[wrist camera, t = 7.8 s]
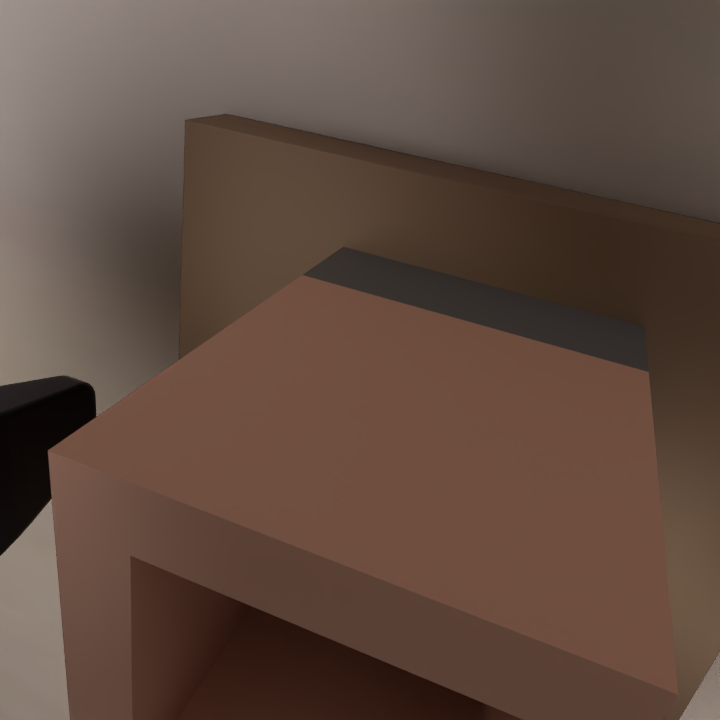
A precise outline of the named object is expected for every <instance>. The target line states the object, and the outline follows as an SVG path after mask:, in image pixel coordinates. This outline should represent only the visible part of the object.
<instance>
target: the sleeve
mask: <svg viewBox="0 0 720 720" xmlns="http://www.w3.org/2000/svg"><path fill="white" fill-rule="evenodd" d="M48 459H49V471H50V483H51V495H52V507H53V520H54V532H55V544H56V556H57V568H58V580H59V592H60V604H61V616H62V628H63V641H64V653H65V665H66V677H67V689H68V701H69V713H70V720H664V718H665V717H666V715H667V713H668V712H669V710H670V708H671V706H672V705H673V703H674V701H675V700H676V698H677V696H678V685H677V674H676V663H675V652H674V641H673V631H672V620H671V609H670V598H669V587H668V576H667V565H666V554H665V543H664V533H663V522H662V511H661V500H660V489H659V478H658V467H657V456H656V446H655V435H654V424H653V413H652V402H651V391H650V380H649V369H648V359H647V348H646V337H645V326H641V325H637V324H633V323H629V322H626V321H622V320H618V319H614V318H611V317H607V316H603V315H599V314H595V313H592V312H588V311H584V310H580V309H577V308H573V307H569V306H565V305H561V304H558V303H554V302H550V301H546V300H543V299H539V298H535V297H531V296H527V295H524V294H520V293H516V292H512V291H509V290H505V289H501V288H497V287H493V286H490V285H486V284H482V283H478V282H475V281H471V280H467V279H463V278H459V277H456V276H452V275H448V274H444V273H441V272H437V271H433V270H429V269H425V268H422V267H418V266H414V265H410V264H407V263H403V262H399V261H395V260H392V259H388V258H384V257H380V256H376V255H373V254H369V253H365V252H361V251H358V250H354V249H350V248H346V247H342V248H341V249H339V250H338V251H336V252H335V253H333V254H332V255H330V256H329V257H328V258H326V259H325V260H323V261H322V262H320V263H319V264H317V265H316V266H314V267H313V268H312V269H310V270H309V271H307V272H306V273H304V274H303V275H301V276H300V277H299V278H297V279H296V280H294V281H293V282H291V283H290V284H288V285H287V286H286V287H284V288H283V289H281V290H280V291H278V292H277V293H275V294H274V295H272V296H271V297H270V298H268V299H267V300H265V301H264V302H262V303H261V304H259V305H258V306H257V307H255V308H254V309H252V310H251V311H249V312H248V313H246V314H245V315H243V316H242V317H241V318H239V319H238V320H236V321H235V322H233V323H232V324H230V325H229V326H228V327H226V328H225V329H223V330H222V331H220V332H219V333H217V334H216V335H215V336H213V337H212V338H210V339H209V340H207V341H206V342H204V343H203V344H201V345H200V346H199V347H197V348H196V349H194V350H193V351H191V352H190V353H188V354H187V355H186V356H184V357H183V358H181V359H180V360H178V361H177V362H175V363H174V364H173V365H171V366H170V367H168V368H167V369H165V370H164V371H162V372H161V373H159V374H158V375H157V376H155V377H154V378H152V379H151V380H149V381H148V382H146V383H145V384H144V385H142V386H141V387H139V388H138V389H136V390H135V391H133V392H132V393H131V394H129V395H128V396H126V397H125V398H123V399H122V400H120V401H119V402H117V403H116V404H115V405H113V406H112V407H110V408H109V409H107V410H106V411H104V412H103V413H102V414H100V415H99V416H97V417H96V418H94V419H93V420H91V421H90V422H88V423H87V424H86V425H84V426H83V427H81V428H80V429H78V430H77V431H75V432H74V433H73V434H71V435H70V436H68V437H67V438H65V439H64V440H62V441H61V442H60V443H58V444H57V445H55V446H54V447H52V448H51V449H49V450H48Z"/></svg>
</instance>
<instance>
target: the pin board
mask: <svg viewBox="0 0 720 720" xmlns="http://www.w3.org/2000/svg"><path fill="white" fill-rule="evenodd" d="M342 247H346V248H350V249H354V250H358V251H361V252H365V253H369V254H373V255H376V256H380V257H384V258H388V259H392V260H395V261H399V262H403V263H407V264H410V265H414V266H418V267H422V268H425V269H429V270H433V271H437V272H441V273H444V274H448V275H452V276H456V277H459V278H463V279H467V280H471V281H475V282H478V283H482V284H486V285H490V286H493V287H497V288H501V289H505V290H509V291H512V292H516V293H520V294H524V295H527V296H531V297H535V298H539V299H543V300H546V301H550V302H554V303H558V304H561V305H565V306H569V307H573V308H577V309H580V310H584V311H588V312H592V313H595V314H599V315H603V316H607V317H611V318H614V319H618V320H622V321H626V322H629V323H633V324H637V325H641V326H645V337H646V348H647V359H648V369H649V380H650V391H651V402H652V413H653V424H654V435H655V446H656V456H657V467H658V478H659V489H660V500H661V511H662V522H663V533H664V543H665V554H666V565H667V576H668V587H669V598H670V609H671V620H672V631H673V641H674V652H675V663H676V674H677V685H678V696H677V698H676V700H675V701H674V703H673V705H672V706H671V708H670V710H669V712H668V713H667V715H666V717H665V718H664V720H679V719H680V717H681V715H682V714H683V712H684V710H685V709H686V707H687V705H688V704H689V702H690V700H691V699H692V697H693V695H694V694H695V692H696V690H697V689H698V687H699V685H700V684H701V682H702V680H703V679H704V677H705V675H706V674H707V672H708V670H709V669H710V667H711V665H712V664H713V662H714V660H715V659H716V657H717V655H718V654H719V652H720V224H719V223H714V222H710V221H705V220H701V219H696V218H692V217H687V216H683V215H678V214H674V213H669V212H665V211H660V210H656V209H651V208H647V207H642V206H638V205H633V204H629V203H624V202H620V201H615V200H611V199H606V198H602V197H597V196H593V195H588V194H584V193H579V192H575V191H570V190H566V189H561V188H557V187H552V186H548V185H543V184H539V183H534V182H530V181H525V180H521V179H516V178H512V177H507V176H503V175H498V174H494V173H489V172H485V171H480V170H476V169H471V168H467V167H462V166H458V165H453V164H449V163H444V162H440V161H435V160H431V159H426V158H422V157H417V156H413V155H408V154H404V153H399V152H395V151H390V150H386V149H381V148H377V147H372V146H368V145H363V144H359V143H354V142H350V141H345V140H341V139H336V138H332V137H327V136H323V135H318V134H314V133H309V132H305V131H300V130H296V129H291V128H287V127H282V126H278V125H273V124H269V123H264V122H260V121H255V120H251V119H246V118H242V117H237V116H233V115H228V114H222V115H215V116H209V117H202V118H195V119H188V120H185V148H184V185H183V223H182V260H181V297H180V335H179V360H180V359H181V358H183V357H184V356H186V355H187V354H188V353H190V352H191V351H193V350H194V349H196V348H197V347H199V346H200V345H201V344H203V343H204V342H206V341H207V340H209V339H210V338H212V337H213V336H215V335H216V334H217V333H219V332H220V331H222V330H223V329H225V328H226V327H228V326H229V325H230V324H232V323H233V322H235V321H236V320H238V319H239V318H241V317H242V316H243V315H245V314H246V313H248V312H249V311H251V310H252V309H254V308H255V307H257V306H258V305H259V304H261V303H262V302H264V301H265V300H267V299H268V298H270V297H271V296H272V295H274V294H275V293H277V292H278V291H280V290H281V289H283V288H284V287H286V286H287V285H288V284H290V283H291V282H293V281H294V280H296V279H297V278H299V277H300V276H301V275H303V274H304V273H306V272H307V271H309V270H310V269H312V268H313V267H314V266H316V265H317V264H319V263H320V262H322V261H323V260H325V259H326V258H328V257H329V256H330V255H332V254H333V253H335V252H336V251H338V250H339V249H341V248H342Z"/></svg>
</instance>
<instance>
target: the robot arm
mask: <svg viewBox="0 0 720 720" xmlns="http://www.w3.org/2000/svg"><path fill="white" fill-rule="evenodd" d="M94 418H96V398H95V391H94V389H93V387H92V386H91V385H90V384H88V383H86V382H84V381H81V380H78V379H75V378H72V377H69V376H56V377H50V378H44V379H39V380H33V381H27V382H21V383H15V384H9V385H4V386H0V556H1V555H2V554H3V553H4V552H5V551H6V550H7V549H8V548H9V547H10V546H11V544H12V543H13V542H14V541H15V540H16V539H17V538H18V537H19V536H20V535H21V534H22V533H23V532H24V530H25V529H26V528H27V527H28V526H29V525H30V524H31V523H32V521H33V520H34V519H35V518H36V517H37V515H38V514H39V513H40V512H41V511H42V509H43V508H44V507H45V506H46V505H47V503H48V502H49V501H50V500H51V499H52V495H51V483H50V471H49V459H48V450H49V449H51V448H52V447H54V446H55V445H57V444H58V443H60V442H61V441H62V440H64V439H65V438H67V437H68V436H70V435H71V434H73V433H74V432H75V431H77V430H78V429H80V428H81V427H83V426H84V425H86V424H87V423H88V422H90V421H91V420H93V419H94Z"/></svg>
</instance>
